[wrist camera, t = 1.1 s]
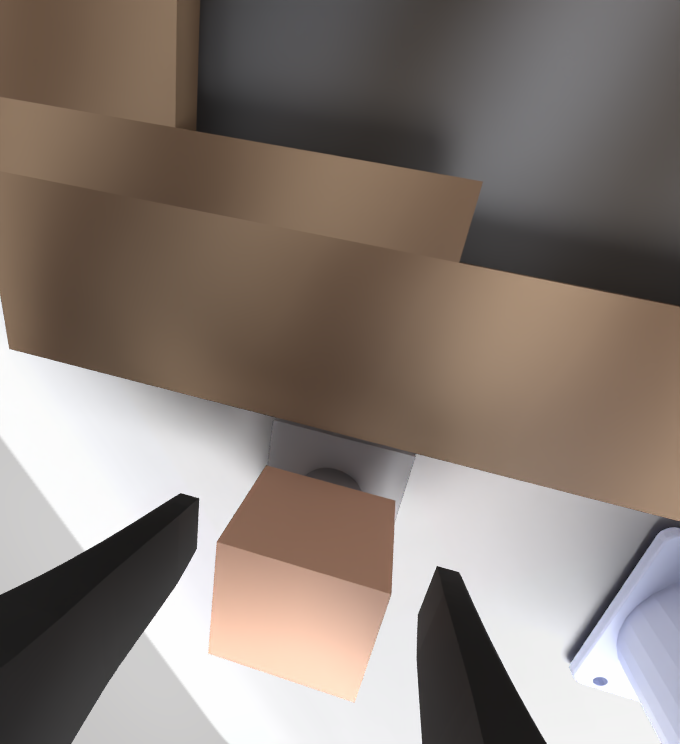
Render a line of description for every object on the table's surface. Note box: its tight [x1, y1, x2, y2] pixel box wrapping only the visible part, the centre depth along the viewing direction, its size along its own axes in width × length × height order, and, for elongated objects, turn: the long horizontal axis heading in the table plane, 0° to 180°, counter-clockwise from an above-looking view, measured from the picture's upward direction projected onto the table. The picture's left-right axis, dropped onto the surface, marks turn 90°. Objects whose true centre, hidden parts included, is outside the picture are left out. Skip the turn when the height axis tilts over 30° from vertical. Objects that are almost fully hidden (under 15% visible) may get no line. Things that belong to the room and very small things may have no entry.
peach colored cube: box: [208, 417, 415, 702], centre depth 11 cm, size 5×5×6 cm
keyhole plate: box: [0, 0, 680, 521], centre depth 8 cm, size 20×16×3 cm
